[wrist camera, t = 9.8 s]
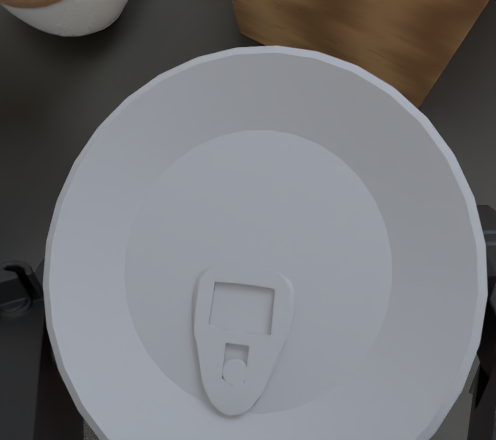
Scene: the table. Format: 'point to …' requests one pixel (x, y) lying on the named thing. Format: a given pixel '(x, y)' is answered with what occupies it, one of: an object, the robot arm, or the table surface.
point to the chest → (368, 34)
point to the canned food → (265, 258)
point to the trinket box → (66, 14)
